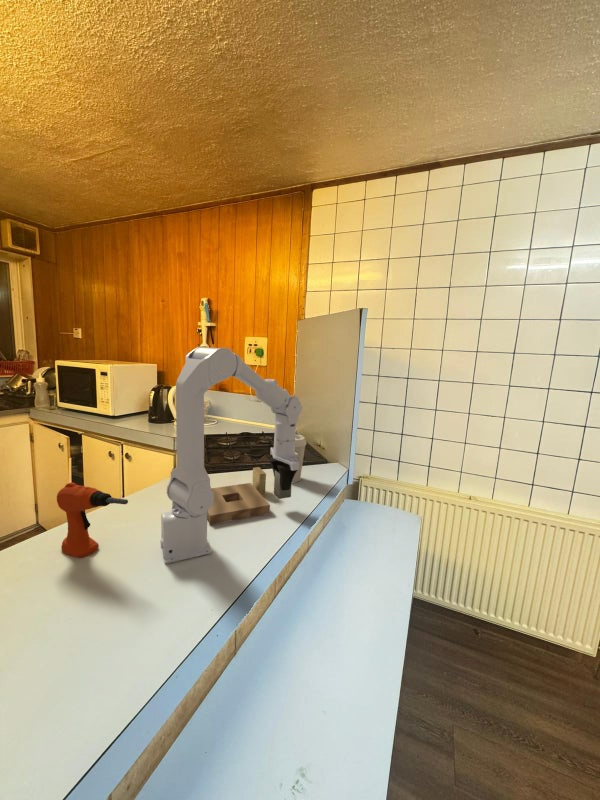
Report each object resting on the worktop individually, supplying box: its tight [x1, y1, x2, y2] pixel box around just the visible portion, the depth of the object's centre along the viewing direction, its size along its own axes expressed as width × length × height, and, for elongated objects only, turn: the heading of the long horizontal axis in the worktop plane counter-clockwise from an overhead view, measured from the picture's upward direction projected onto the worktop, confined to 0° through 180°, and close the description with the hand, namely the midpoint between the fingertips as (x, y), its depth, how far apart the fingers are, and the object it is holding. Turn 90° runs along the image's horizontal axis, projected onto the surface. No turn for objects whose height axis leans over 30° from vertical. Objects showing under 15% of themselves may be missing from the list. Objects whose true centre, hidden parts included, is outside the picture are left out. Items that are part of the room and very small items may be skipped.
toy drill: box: [56, 481, 129, 559], centre depth 67 cm, size 5×19×15 cm, turn 70°
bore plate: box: [207, 482, 271, 526], centre depth 93 cm, size 16×16×2 cm
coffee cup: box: [292, 434, 308, 483], centre depth 113 cm, size 10×10×15 cm
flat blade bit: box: [251, 466, 267, 497], centre depth 102 cm, size 2×6×7 cm, turn 27°
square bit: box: [273, 469, 293, 500], centre depth 91 cm, size 4×4×7 cm
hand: (282, 486), depth 91 cm, fingers closed on square bit, 4 cm apart
